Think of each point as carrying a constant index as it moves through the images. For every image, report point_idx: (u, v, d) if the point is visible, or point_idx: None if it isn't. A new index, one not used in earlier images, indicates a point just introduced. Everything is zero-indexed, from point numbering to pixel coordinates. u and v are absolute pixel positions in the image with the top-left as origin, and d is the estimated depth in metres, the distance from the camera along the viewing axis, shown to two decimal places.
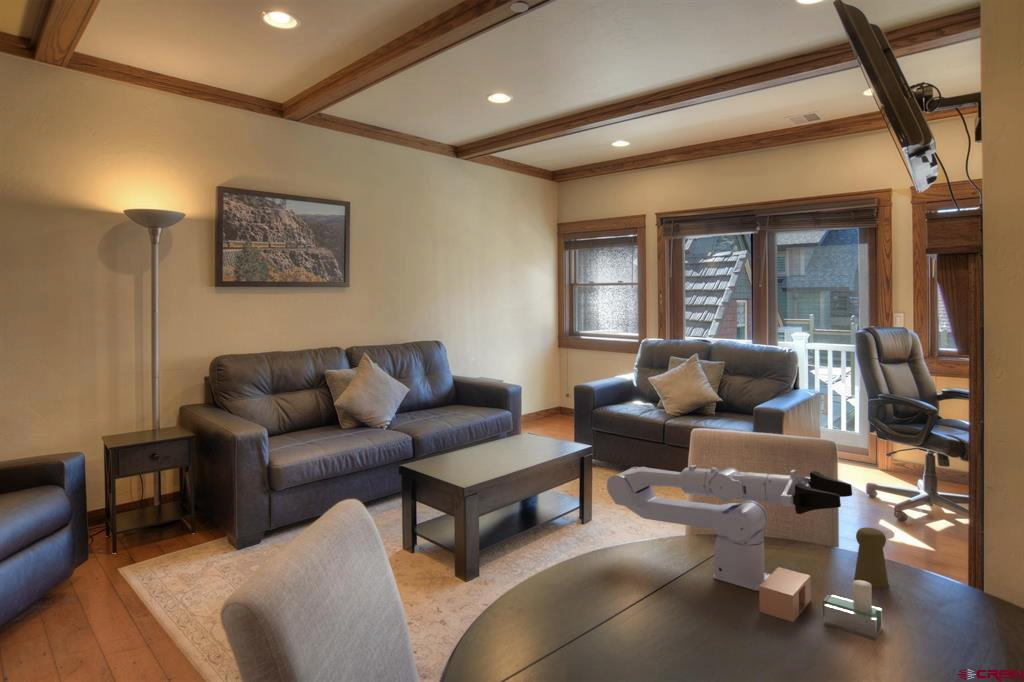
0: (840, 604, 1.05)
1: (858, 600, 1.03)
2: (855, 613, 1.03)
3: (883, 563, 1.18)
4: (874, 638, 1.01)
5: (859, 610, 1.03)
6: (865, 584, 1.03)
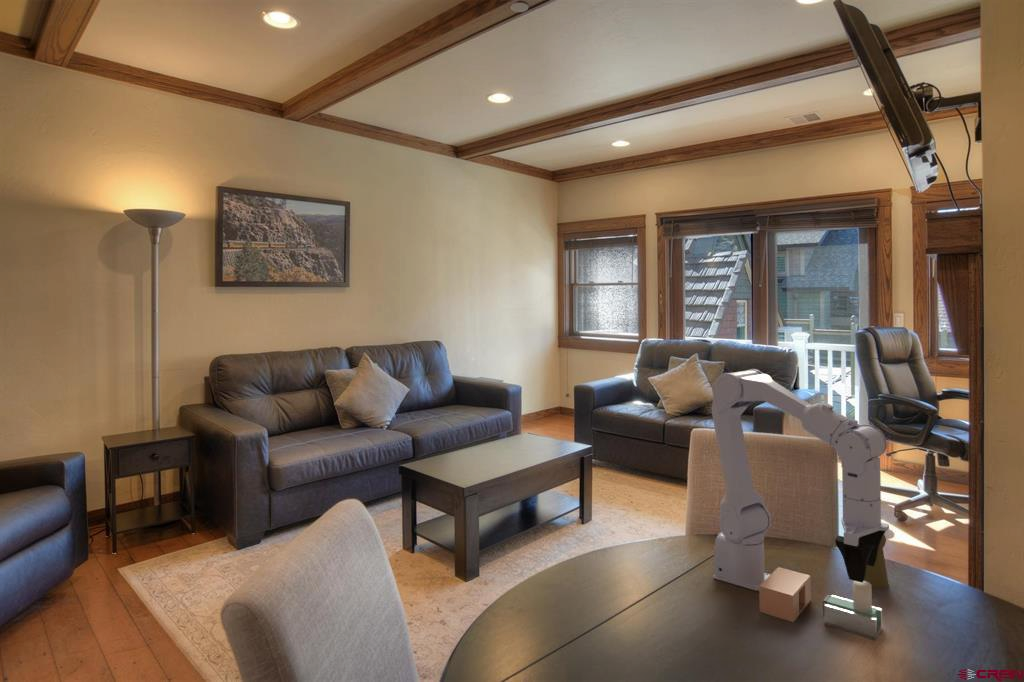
0: (840, 604, 1.05)
1: (858, 600, 1.03)
2: (855, 613, 1.03)
3: (883, 563, 1.18)
4: (874, 638, 1.01)
5: (859, 610, 1.03)
6: (865, 584, 1.03)
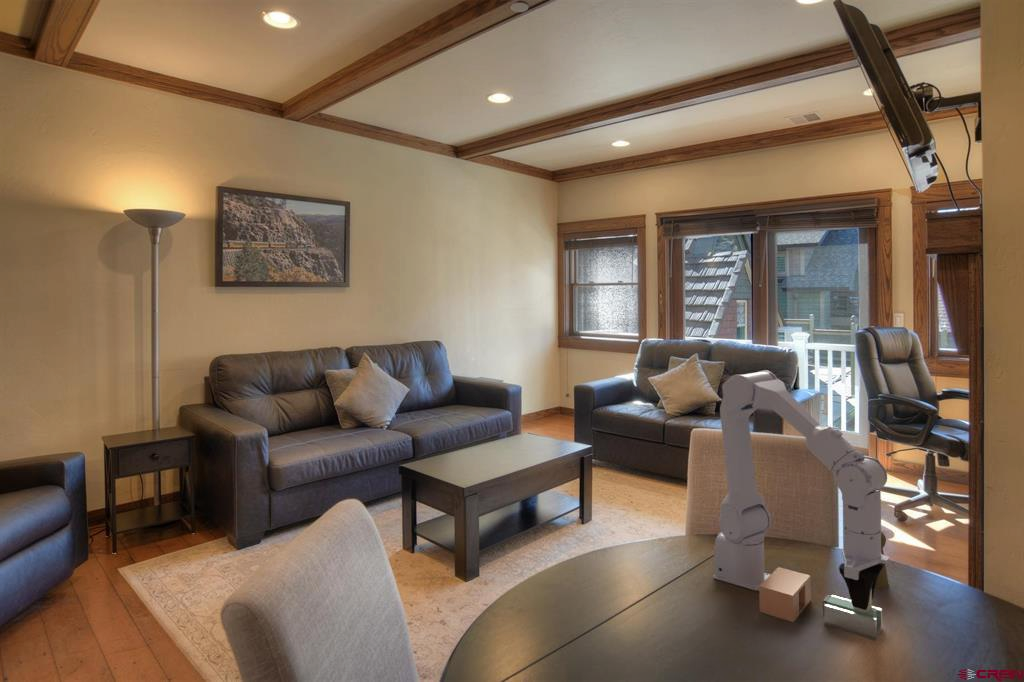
0: (840, 604, 1.05)
1: None
2: (855, 613, 1.03)
3: None
4: (874, 638, 1.01)
5: (859, 610, 1.03)
6: None
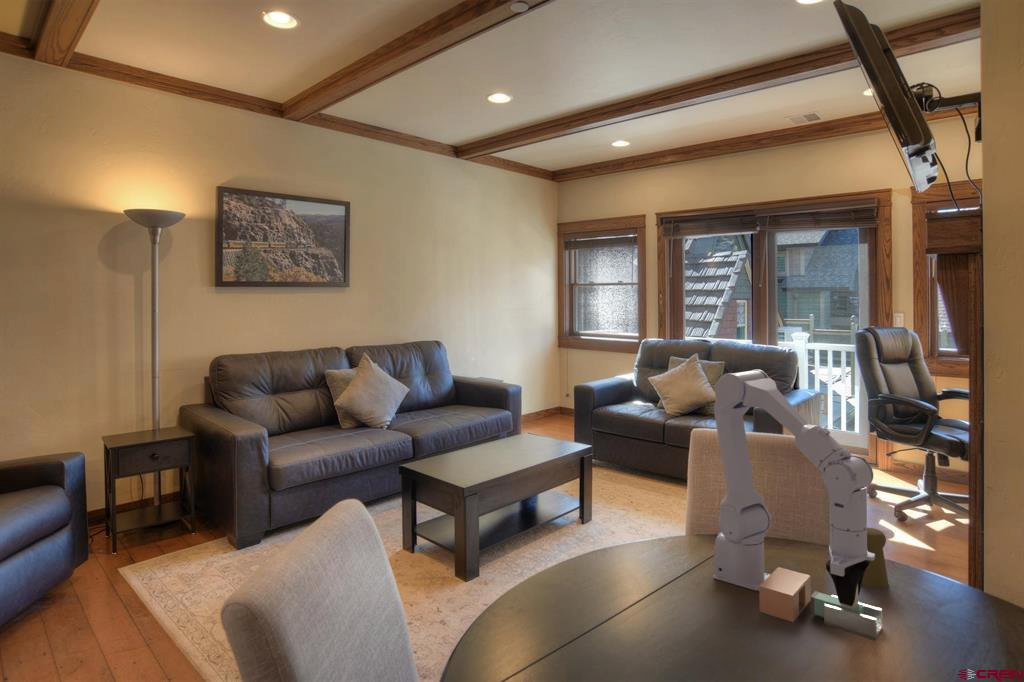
0: (827, 600, 1.07)
1: None
2: (855, 613, 1.03)
3: (883, 563, 1.18)
4: (874, 638, 1.01)
5: (846, 606, 1.04)
6: None
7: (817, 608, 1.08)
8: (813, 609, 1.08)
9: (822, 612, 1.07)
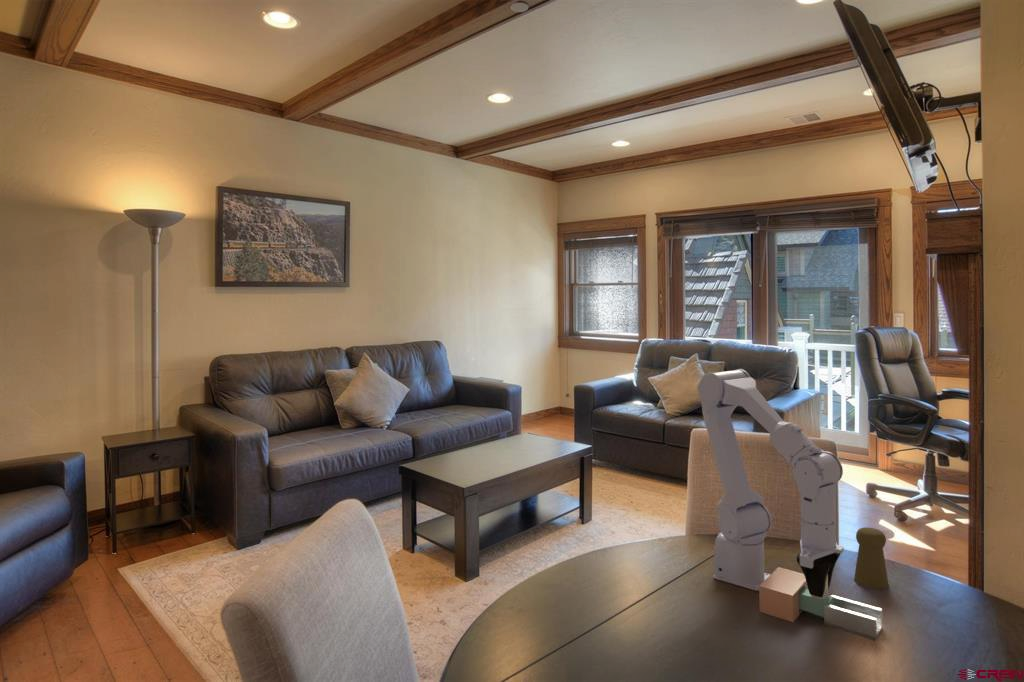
0: (799, 592, 1.10)
1: None
2: (855, 613, 1.03)
3: (883, 563, 1.18)
4: (874, 638, 1.01)
5: (816, 598, 1.08)
6: None
7: None
8: None
9: None
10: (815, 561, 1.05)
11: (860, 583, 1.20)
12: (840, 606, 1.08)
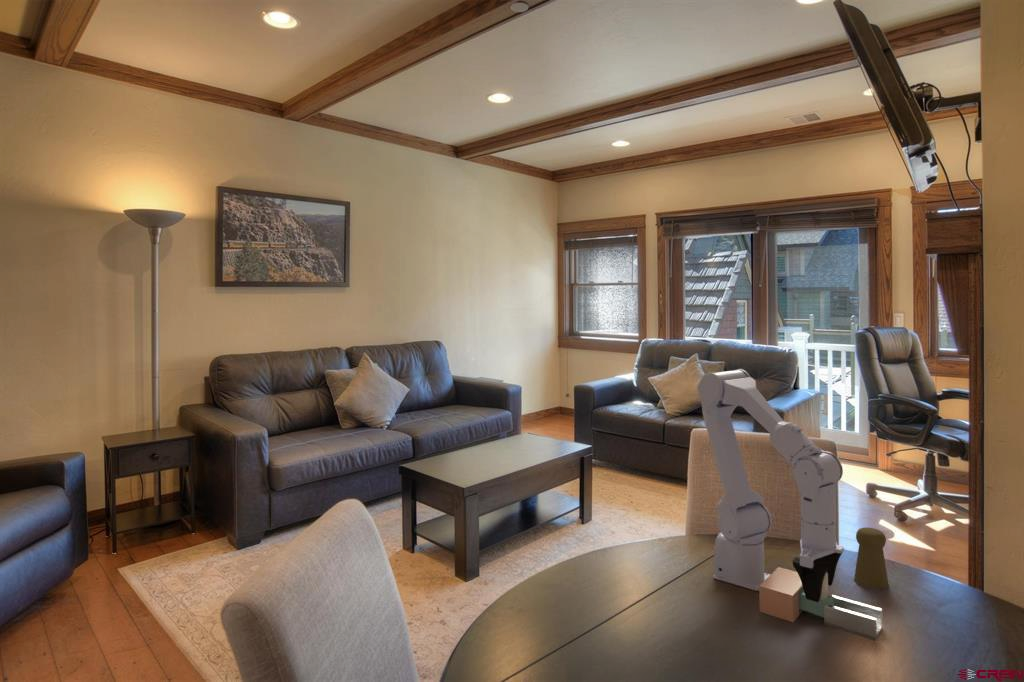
0: (799, 592, 1.10)
1: None
2: (855, 613, 1.03)
3: (883, 563, 1.18)
4: (874, 638, 1.01)
5: None
6: None
7: None
8: None
9: None
10: None
11: (860, 583, 1.20)
12: (840, 606, 1.08)
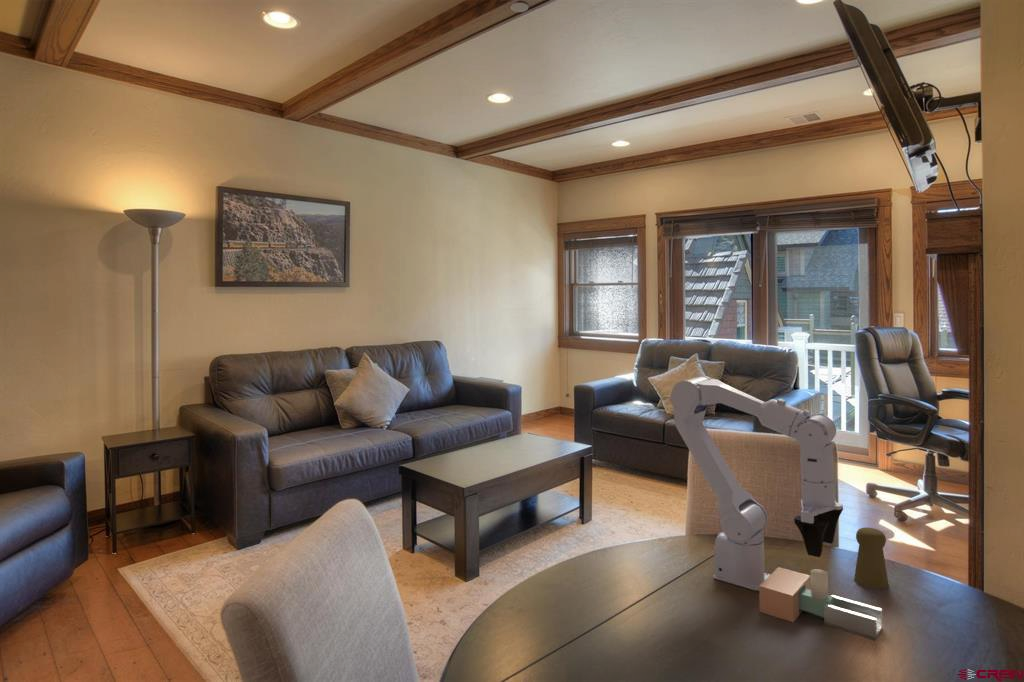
0: (799, 592, 1.10)
1: (815, 588, 1.08)
2: (855, 613, 1.03)
3: (883, 563, 1.18)
4: (874, 638, 1.01)
5: (816, 598, 1.08)
6: (822, 572, 1.08)
7: None
8: None
9: None
10: None
11: (860, 583, 1.20)
12: (840, 606, 1.08)
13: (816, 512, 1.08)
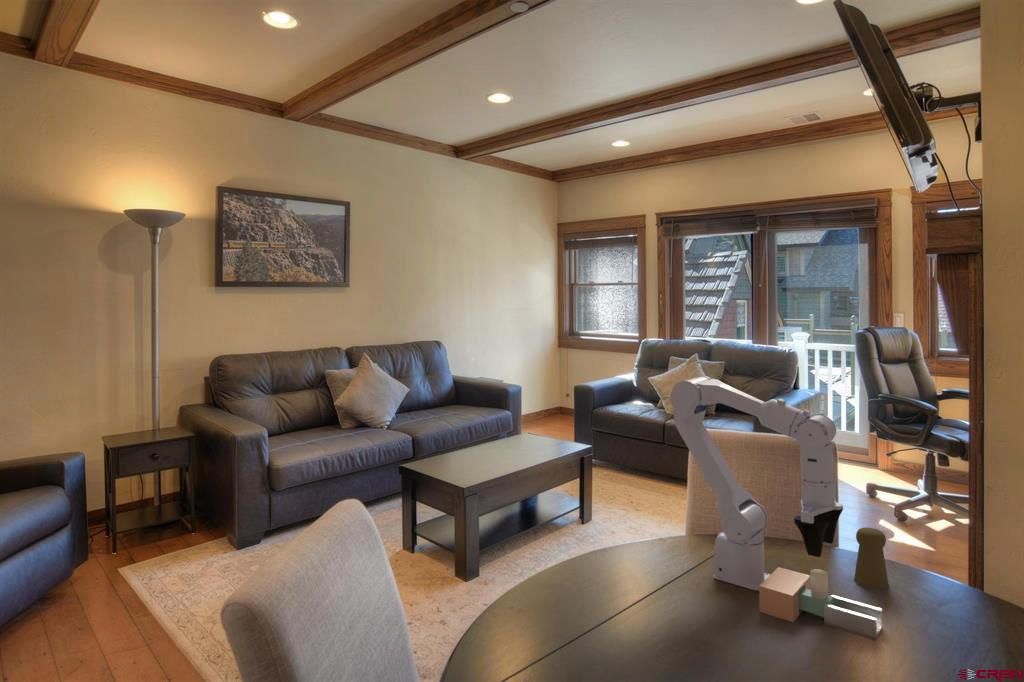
0: (799, 592, 1.10)
1: (815, 588, 1.08)
2: (855, 613, 1.03)
3: (883, 563, 1.18)
4: (874, 638, 1.01)
5: (816, 598, 1.08)
6: (822, 572, 1.08)
7: None
8: None
9: None
10: None
11: (860, 583, 1.20)
12: (840, 606, 1.08)
13: (816, 512, 1.08)
